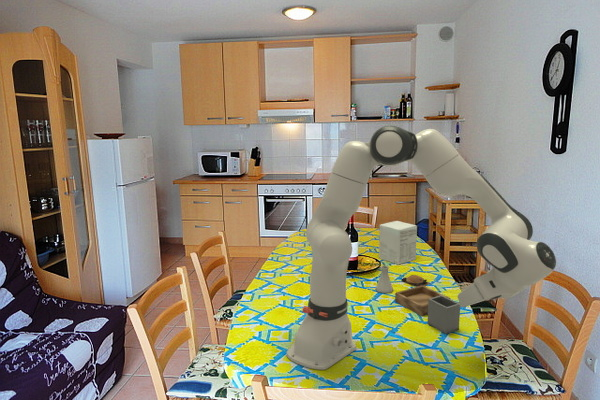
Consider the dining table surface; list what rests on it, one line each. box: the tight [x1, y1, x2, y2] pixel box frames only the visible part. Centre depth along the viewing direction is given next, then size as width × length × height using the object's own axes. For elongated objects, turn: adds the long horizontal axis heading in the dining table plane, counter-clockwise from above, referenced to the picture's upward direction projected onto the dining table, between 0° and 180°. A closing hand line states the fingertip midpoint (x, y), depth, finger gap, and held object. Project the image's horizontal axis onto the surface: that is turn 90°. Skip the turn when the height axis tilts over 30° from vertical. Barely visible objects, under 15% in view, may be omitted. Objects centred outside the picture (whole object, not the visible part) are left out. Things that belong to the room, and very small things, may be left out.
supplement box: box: [378, 220, 418, 265], centre depth 200 cm, size 13×13×18 cm
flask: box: [375, 265, 394, 294], centre depth 164 cm, size 7×7×10 cm
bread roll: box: [401, 274, 431, 287], centre depth 172 cm, size 11×8×4 cm
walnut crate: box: [394, 285, 452, 317], centre depth 151 cm, size 14×14×4 cm
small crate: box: [426, 295, 461, 335], centre depth 134 cm, size 8×6×9 cm
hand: (471, 301), depth 123 cm, fingers open, 8 cm apart
